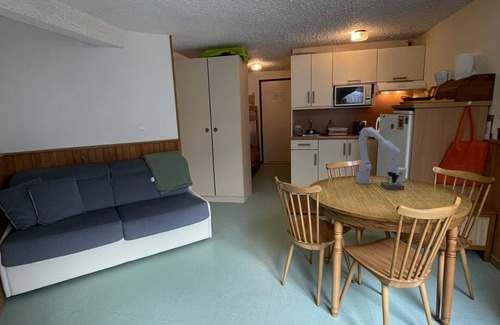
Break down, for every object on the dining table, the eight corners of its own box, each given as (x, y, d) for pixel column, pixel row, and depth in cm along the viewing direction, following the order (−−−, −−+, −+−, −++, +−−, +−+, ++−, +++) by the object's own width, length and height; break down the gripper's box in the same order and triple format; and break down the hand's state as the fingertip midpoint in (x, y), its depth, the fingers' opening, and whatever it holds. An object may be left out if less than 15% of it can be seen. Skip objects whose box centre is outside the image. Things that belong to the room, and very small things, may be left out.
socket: (387, 189, 196) (387, 185, 196) (380, 185, 207) (381, 182, 206) (404, 189, 195) (404, 185, 195) (397, 185, 206) (397, 181, 206)
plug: (388, 185, 199) (388, 177, 198) (386, 184, 203) (386, 176, 202) (396, 185, 199) (397, 177, 198) (394, 184, 202) (395, 176, 201)
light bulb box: (388, 180, 223) (389, 167, 221) (391, 178, 227) (392, 166, 225) (402, 182, 215) (403, 169, 213) (405, 181, 219) (406, 168, 217)
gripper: (404, 166, 191) (403, 184, 193) (395, 162, 205) (393, 179, 207) (394, 166, 191) (392, 184, 194) (385, 162, 205) (384, 179, 208)
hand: (392, 182), depth 200 cm, fingers closed on plug, 3 cm apart
